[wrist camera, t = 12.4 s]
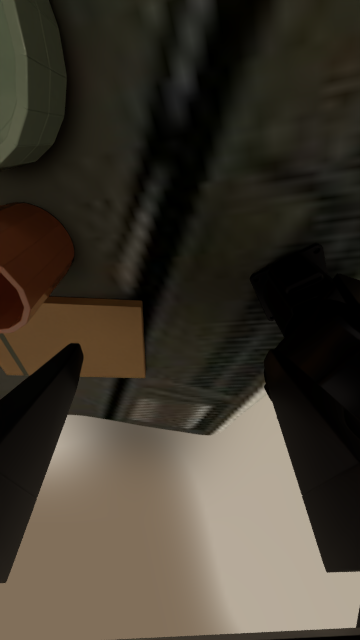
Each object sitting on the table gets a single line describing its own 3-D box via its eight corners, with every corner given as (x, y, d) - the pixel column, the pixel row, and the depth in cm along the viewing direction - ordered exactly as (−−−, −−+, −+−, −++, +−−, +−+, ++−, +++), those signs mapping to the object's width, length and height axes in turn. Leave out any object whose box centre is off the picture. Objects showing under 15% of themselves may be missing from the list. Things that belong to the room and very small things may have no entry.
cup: (90, 254, 20) (52, 307, 14) (42, 287, 22) (-9, 346, 16) (25, 183, 16) (-66, 212, 10) (-24, 231, 18) (-125, 278, 12)
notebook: (145, 370, 31) (145, 378, 30) (12, 367, 30) (6, 375, 29) (142, 299, 23) (140, 307, 22) (-39, 291, 22) (-49, 298, 21)
